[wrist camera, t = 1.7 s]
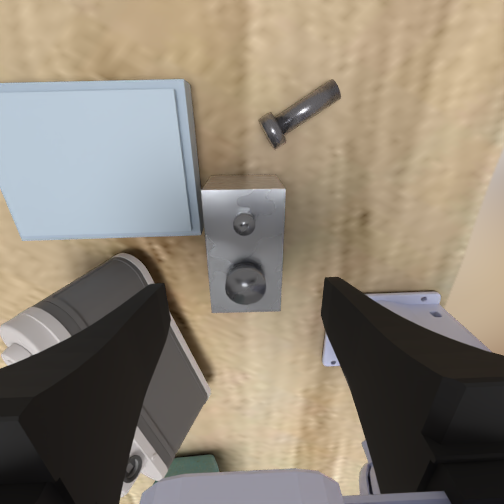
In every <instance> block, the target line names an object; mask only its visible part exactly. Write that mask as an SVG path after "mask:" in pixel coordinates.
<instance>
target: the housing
mask: <svg viewBox="0 0 504 504" xmlns="http://www.w3.org/2000/svg"><path fill="white" fill-rule="evenodd" d="M201 196H202V207H203V218H204V230H205V241H206V252H207V263H208V275H209V286H210V297H211V309H212V313H230V312H269V311H280V310H281V288H282V265H283V243H284V221H285V198H286V188H285V187H284V185H283V184H282V183H281V181H280V180H279V178H278V177H277V176H276V175H211V176H210V178H209V179H208V181H207V182H206V184H205V185H204V186H203V188H202V189H201Z"/></svg>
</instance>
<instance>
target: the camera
mask: <svg viewBox="0 0 504 504" xmlns="http://www.w3.org/2000/svg"><path fill="white" fill-rule="evenodd" d="M149 284H155V283H154V281H153V279H152V278H151V276H150V274H149V272H148V270H147V268H146V267H145V266H144V265H143V263H142V262H141V261H139V260H138V259H137V258H135V257H134V256H132V255H130V254H126V253H119V254H117V255H115V256H113V257H112V258H110V259H109V260H108V261H106V262H104V263H103V264H101V265H99V266H98V267H96V268H94V269H93V270H91V271H89V272H88V273H86V274H85V275H83V276H81V277H80V278H78V279H76V280H75V281H73V282H71V283H70V284H68V285H66V286H65V287H63V288H62V289H60V290H58V291H57V292H55V293H53V294H52V295H50V296H48V297H47V298H45V299H43V300H42V301H40V302H39V303H37V304H35V305H34V306H32V307H29V308H28V309H26V310H24V311H23V312H21V313H19V314H18V315H17V316H15V317H14V318H12V319H10V320H9V321H7V322H5V323H4V324H2V325H1V326H0V336H1V338H2V339H3V341H4V343H5V344H6V345H7V347H8V348H7V349H5V350H4V352H3V353H2V354H1V357H2V359H3V360H4V362H5V363H6V364H7V365H8V366H9V365H11V364H14V363H16V362H18V361H21V360H23V359H25V358H28V357H30V356H32V355H35V354H37V353H39V352H41V351H43V350H45V349H47V348H49V347H51V346H53V345H55V344H57V343H59V342H62V341H64V340H66V339H67V338H69V337H71V336H73V335H75V334H77V333H78V332H80V331H82V330H84V329H85V328H87V327H89V326H90V325H92V324H93V323H95V322H97V321H98V320H100V319H101V318H103V317H104V316H106V315H107V314H109V313H110V312H111V311H113V310H114V309H116V308H117V307H119V306H120V305H121V304H123V303H124V302H126V301H127V300H128V299H130V298H131V297H132V296H134V295H135V294H136V293H138V292H139V291H140V290H142V289H143V288H145V287H146V286H148V285H149ZM170 317H171V323H170V327H169V332H168V336H167V340H166V343H165V345H164V348H163V351H162V353H161V356H160V358H159V361H158V363H157V366H156V369H155V371H154V374H153V376H152V379H151V381H150V384H149V386H148V389H147V392H146V395H145V398H144V402H143V406H142V409H141V413H140V416H139V420H138V424H137V428H136V432H135V436H134V439H133V443H132V447H131V452H130V456H129V460H128V465H127V469H126V473H125V478H124V482H123V487H122V492H121V496H120V497H123V496H124V495H126V494H127V493H128V492H129V490H130V488H131V487H132V485H133V484H134V482H135V480H136V479H137V477H138V476H139V474H140V473H142V474H144V475H145V476H147V477H149V478H151V479H153V480H156V481H159V480H161V479H162V478H164V477H165V475H166V473H167V472H168V469H169V467H170V465H171V463H172V462H173V460H174V458H175V455H176V453H177V451H178V449H179V448H180V446H181V444H182V442H183V440H184V439H185V437H186V435H187V433H188V432H189V430H190V428H191V426H192V425H193V423H194V421H195V419H196V417H197V416H198V414H199V412H200V410H201V409H202V407H203V405H204V404H205V403H206V401H207V400H208V398H209V396H210V395H211V390H210V387H209V385H208V384H207V382H206V380H205V378H204V376H203V374H202V372H201V370H200V368H199V366H198V365H197V363H196V361H195V359H194V357H193V355H192V353H191V351H190V349H189V348H188V346H187V344H186V342H185V340H184V338H183V336H182V334H181V332H180V331H179V329H178V327H177V325H176V323H175V321H174V319H173V317H172V315H171V313H170Z"/></svg>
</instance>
